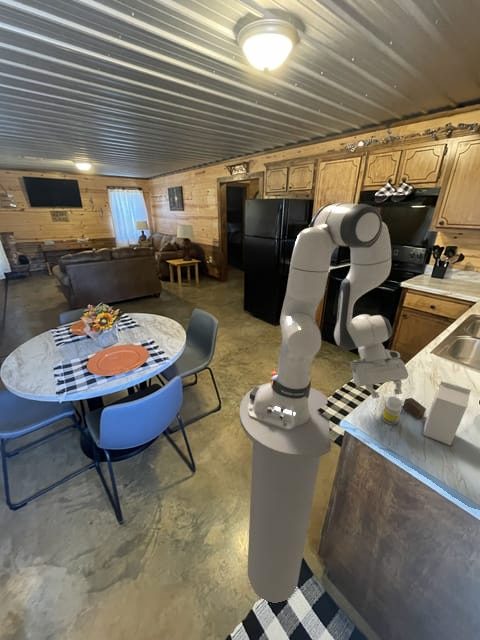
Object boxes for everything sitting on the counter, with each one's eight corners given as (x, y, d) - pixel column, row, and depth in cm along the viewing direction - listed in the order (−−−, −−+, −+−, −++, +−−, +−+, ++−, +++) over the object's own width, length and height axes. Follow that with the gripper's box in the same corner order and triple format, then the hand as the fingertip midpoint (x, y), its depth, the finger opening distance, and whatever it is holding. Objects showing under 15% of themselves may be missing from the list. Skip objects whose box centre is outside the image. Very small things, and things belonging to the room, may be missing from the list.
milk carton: (450, 446, 81) (471, 396, 74) (423, 434, 85) (440, 386, 78) (450, 432, 86) (470, 384, 79) (424, 422, 90) (441, 375, 83)
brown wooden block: (423, 417, 92) (426, 408, 91) (416, 419, 92) (419, 410, 90) (409, 406, 98) (412, 397, 96) (402, 407, 97) (405, 398, 95)
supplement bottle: (386, 413, 94) (391, 393, 91) (399, 421, 91) (406, 401, 87) (379, 418, 92) (384, 398, 88) (392, 426, 88) (398, 406, 85)
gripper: (354, 358, 91) (367, 399, 86) (402, 352, 96) (418, 390, 91) (344, 363, 97) (356, 401, 92) (391, 356, 101) (405, 393, 96)
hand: (387, 395), depth 91 cm, fingers open, 8 cm apart
